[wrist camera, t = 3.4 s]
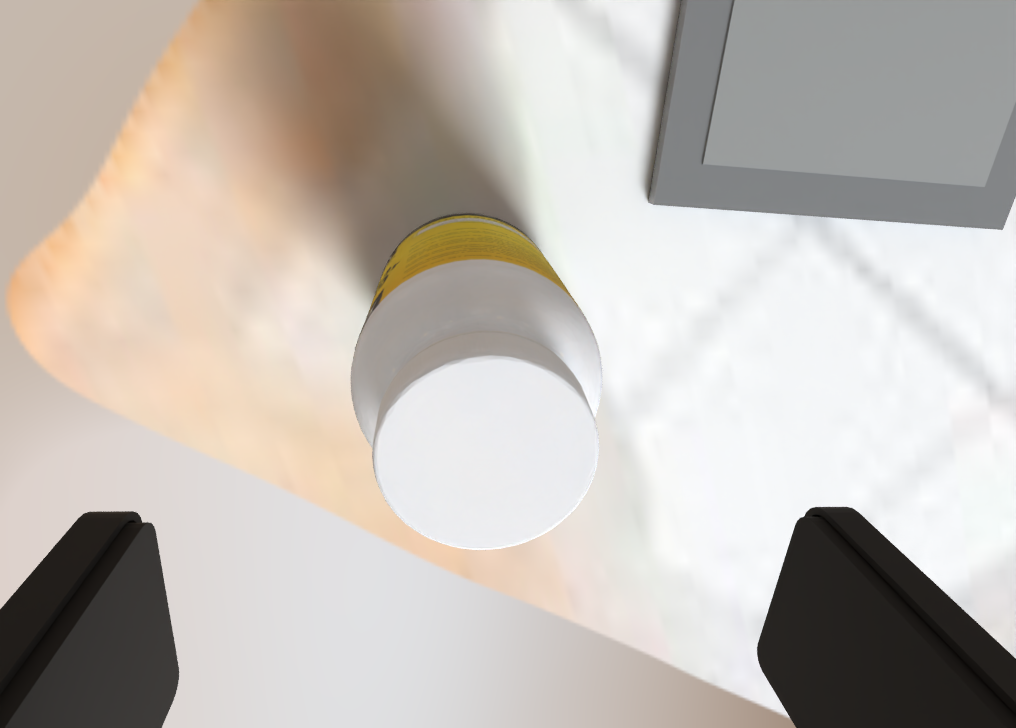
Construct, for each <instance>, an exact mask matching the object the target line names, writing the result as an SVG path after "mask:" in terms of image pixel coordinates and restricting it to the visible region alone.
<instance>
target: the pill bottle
mask: <svg viewBox="0 0 1016 728" xmlns="http://www.w3.org/2000/svg"><path fill="white" fill-rule="evenodd" d="M601 390H602V364H601V357H600V353H599V348H598V344H597V341H596V338H595V336H594V334H593V331H592V329H591V327H590V325H589V323H588V321H587V319H586V317H585V316H584V314H583V313H582V311H581V309H580V308H579V306H578V305H577V303H576V302H575V301H574V299H573V298H572V296H571V295H570V293H569V292H568V290H567V289H566V287H565V286H564V284H563V283H562V281H561V280H560V278H559V277H558V275H557V274H556V272H555V271H554V270H553V268H552V267H551V265H550V264H549V263H548V261H547V260H546V259H545V257H544V256H543V254H542V253H541V251H540V250H539V249H538V247H537V246H536V245H535V244H534V243H533V242H532V241H531V240H530V239H529V238H528V237H527V236H526V235H525V234H524V233H523V232H522V231H520V230H519V229H517V228H516V227H514V226H513V225H511V224H509V223H507V222H505V221H503V220H500V219H498V218H495V217H491V216H487V215H483V214H475V213H458V214H451V215H446V216H443V217H439V218H436V219H434V220H431V221H429V222H427V223H425V224H423V225H421V226H420V227H418V228H417V229H415V230H414V231H413V232H411V233H410V234H409V235H408V236H407V237H406V238H405V239H404V240H403V241H402V242H401V243H400V244H399V245H398V247H397V248H396V249H395V251H394V252H393V254H392V255H391V256H390V258H389V260H388V262H387V264H386V266H385V269H384V271H383V274H382V276H381V279H380V282H379V285H378V287H377V290H376V293H375V296H374V299H373V302H372V305H371V307H370V310H369V313H368V315H367V318H366V321H365V323H364V325H363V328H362V330H361V333H360V335H359V338H358V341H357V344H356V347H355V352H354V357H353V362H352V368H351V394H352V401H353V406H354V410H355V414H356V417H357V420H358V422H359V425H360V427H361V430H362V432H363V434H364V435H365V437H366V439H367V441H368V442H369V444H370V445H371V447H372V448H373V451H372V458H373V468H374V472H375V477H376V480H377V483H378V485H379V488H380V490H381V492H382V494H383V496H384V498H385V500H386V502H387V503H388V505H389V506H390V507H391V509H392V510H393V511H394V512H395V514H396V515H397V516H398V517H399V518H400V519H401V520H402V521H404V522H405V523H406V524H407V525H408V526H410V527H411V528H412V529H414V530H415V531H417V532H418V533H420V534H422V535H423V536H425V537H427V538H430V539H432V540H434V541H436V542H439V543H442V544H445V545H449V546H452V547H457V548H462V549H473V550H490V549H500V548H506V547H510V546H514V545H518V544H521V543H525V542H528V541H530V540H532V539H534V538H537V537H539V536H541V535H543V534H544V533H546V532H548V531H549V530H551V529H552V528H554V527H555V526H557V525H558V524H559V523H560V522H562V521H563V520H564V519H565V518H566V517H567V516H568V515H569V514H570V513H571V512H572V511H573V510H574V509H575V508H576V507H577V506H578V504H579V503H580V502H581V500H582V499H583V497H584V496H585V494H586V493H587V491H588V489H589V487H590V485H591V482H592V480H593V477H594V474H595V471H596V468H597V462H598V453H599V437H598V430H597V426H596V421H595V415H596V412H597V409H598V406H599V402H600V396H601Z"/></svg>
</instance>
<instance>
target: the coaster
mask: <svg viewBox="0 0 1016 728" xmlns="http://www.w3.org/2000/svg"><path fill="white" fill-rule="evenodd" d="M1015 197H1016V0H681V7H680V13H679V19H678V25H677V31H676V37H675V43H674V49H673V55H672V61H671V67H670V74H669V80H668V86H667V92H666V98H665V104H664V110H663V116H662V122H661V128H660V135H659V141H658V147H657V153H656V159H655V165H654V171H653V177H652V183H651V189H650V195H649V203H651V204H653V205H666V206H680V207H694V208H708V209H722V210H736V211H749V212H763V213H777V214H791V215H805V216H819V217H833V218H847V219H860V220H874V221H888V222H902V223H916V224H930V225H944V226H957V227H971V228H985V229H999V230H1003V228H1004V225H1005V222H1006V220H1007V217H1008V215H1009V212H1010V209H1011V207H1012V204H1013V202H1014V199H1015Z"/></svg>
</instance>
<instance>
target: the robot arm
mask: <svg viewBox="0 0 1016 728" xmlns="http://www.w3.org/2000/svg"><path fill="white" fill-rule="evenodd" d="M757 655H758V661H759V664H760V667H761V669H762V671H763V673H764V675H765V676H766V678H767V680H768V681H769V683H770V685H771V686H772V688H773V690H774V691H775V693H776V695H777V696H778V698H779V700H780V701H781V703H782V705H783V706H784V708H785V710H786V711H787V713H788V715H789V716H790V718H791V720H792V721H793V723H794V725H795V726H796V728H1016V659H1015V658H1014V657H1013V656H1012V655H1011V654H1010V653H1009V652H1008V651H1007V650H1006V649H1005V648H1004V647H1003V646H1001V645H1000V644H999V643H998V642H997V641H996V640H995V639H994V638H993V637H992V636H991V635H990V634H989V633H987V632H986V631H985V630H984V629H983V628H982V627H981V626H980V625H979V624H978V623H977V622H976V621H975V620H974V619H972V618H971V617H970V616H969V615H968V614H967V613H966V612H965V611H964V610H963V609H962V608H961V607H960V606H958V605H957V604H956V603H955V602H954V601H953V600H952V599H951V598H950V597H949V596H948V595H947V594H946V593H945V592H943V591H942V590H941V589H940V588H939V587H938V586H937V585H936V584H935V583H934V582H933V581H932V580H931V579H930V578H928V577H927V576H926V575H925V574H924V573H923V572H922V571H921V570H920V569H919V568H918V567H917V566H916V565H914V564H913V563H912V562H911V561H910V560H909V559H908V558H907V557H906V556H905V555H904V554H903V553H902V552H901V551H899V550H898V549H897V548H896V547H895V546H894V545H893V544H892V543H891V542H890V541H889V540H888V539H887V538H885V537H884V536H883V535H882V534H881V533H880V532H879V531H878V530H877V529H876V528H875V527H874V526H873V525H872V524H870V523H869V522H868V521H867V520H866V519H865V518H864V517H863V516H862V515H861V514H860V513H859V512H857V511H856V510H854V509H853V508H849V507H814V508H811V509H809V510H808V511H807V512H806V514H805V516H804V517H802V518H800V519H799V520H798V521H797V523H796V525H795V528H794V531H793V534H792V537H791V541H790V544H789V547H788V550H787V553H786V556H785V560H784V563H783V566H782V569H781V572H780V575H779V579H778V582H777V585H776V588H775V591H774V594H773V598H772V601H771V604H770V607H769V610H768V613H767V617H766V620H765V623H764V626H763V629H762V633H761V636H760V639H759V642H758V647H757ZM178 680H179V667H178V661H177V655H176V649H175V643H174V637H173V632H172V626H171V620H170V614H169V608H168V602H167V596H166V590H165V584H164V578H163V573H162V566H161V560H160V555H159V549H158V543H157V538H156V531H155V528H154V526H153V524H152V523H142V520H141V517H140V516H139V515H138V513H136V512H88V513H85V514H83V515H82V516H81V517H80V518H78V520H77V521H76V522H75V523H74V524H73V525H72V527H71V528H70V529H69V530H68V531H67V532H66V534H65V535H64V536H63V537H62V538H61V540H60V541H59V542H58V543H57V544H56V545H55V546H54V548H53V549H52V550H51V551H50V552H49V553H48V555H47V556H46V557H45V558H44V559H43V561H42V562H41V563H40V564H39V565H38V566H37V567H36V569H35V570H34V571H33V572H32V573H31V574H30V575H29V577H28V578H27V579H26V580H25V581H24V582H23V584H22V585H21V586H20V587H19V588H18V590H17V591H16V592H15V593H14V594H13V595H12V596H11V598H10V599H9V600H8V601H7V602H6V604H5V605H4V606H3V607H2V608H1V609H0V728H162V725H163V723H164V721H165V718H166V716H167V714H168V711H169V709H170V707H171V705H172V702H173V700H174V697H175V694H176V690H177V686H178Z"/></svg>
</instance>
